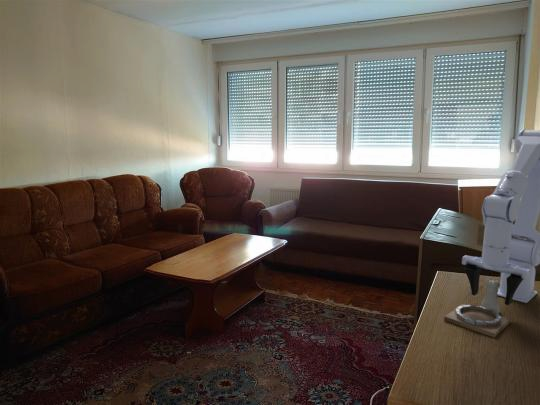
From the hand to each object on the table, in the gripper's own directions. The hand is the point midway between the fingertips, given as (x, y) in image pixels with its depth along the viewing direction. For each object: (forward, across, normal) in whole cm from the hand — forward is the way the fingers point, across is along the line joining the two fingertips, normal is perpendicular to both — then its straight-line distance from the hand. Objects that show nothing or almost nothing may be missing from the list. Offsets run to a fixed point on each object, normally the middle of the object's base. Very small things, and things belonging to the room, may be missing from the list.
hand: (490, 298), depth 103 cm
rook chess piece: (+3, 0, 0) cm, 3 cm away
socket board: (+3, 0, -8) cm, 9 cm away
